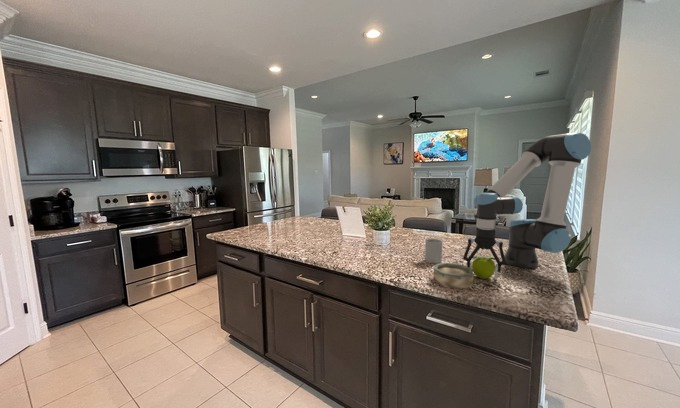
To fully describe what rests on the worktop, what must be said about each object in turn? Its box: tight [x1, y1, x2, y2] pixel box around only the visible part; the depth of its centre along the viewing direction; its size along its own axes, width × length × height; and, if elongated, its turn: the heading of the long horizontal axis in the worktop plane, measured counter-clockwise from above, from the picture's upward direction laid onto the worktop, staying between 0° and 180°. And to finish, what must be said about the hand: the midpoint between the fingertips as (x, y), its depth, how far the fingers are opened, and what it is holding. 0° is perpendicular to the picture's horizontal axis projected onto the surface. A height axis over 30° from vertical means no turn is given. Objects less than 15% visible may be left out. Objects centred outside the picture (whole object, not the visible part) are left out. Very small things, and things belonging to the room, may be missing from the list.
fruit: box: [472, 256, 496, 280], centre depth 127 cm, size 9×9×10 cm
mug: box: [424, 238, 443, 264], centre depth 152 cm, size 12×8×11 cm
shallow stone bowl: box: [432, 262, 474, 290], centre depth 124 cm, size 16×16×6 cm
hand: (482, 277), depth 128 cm, fingers open, 10 cm apart
